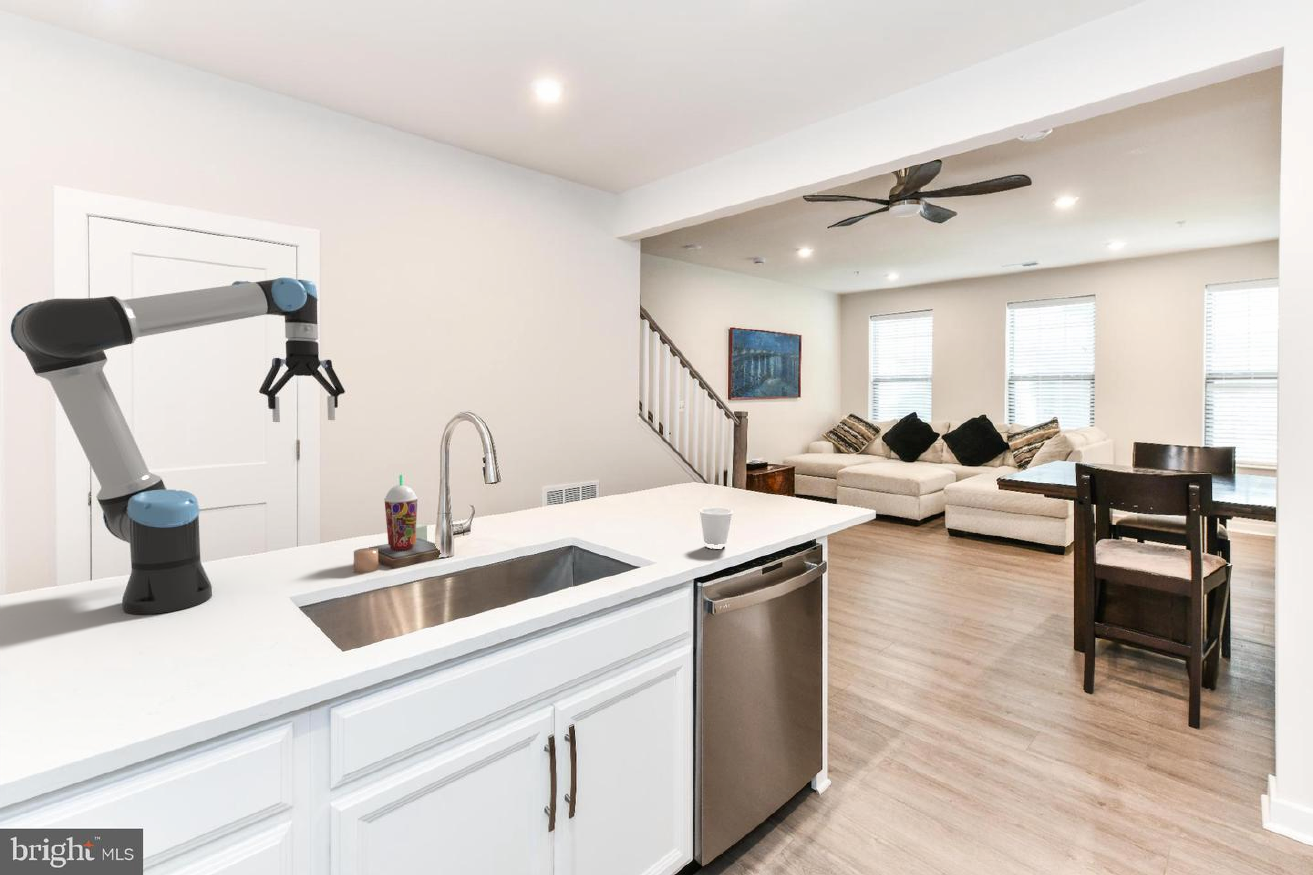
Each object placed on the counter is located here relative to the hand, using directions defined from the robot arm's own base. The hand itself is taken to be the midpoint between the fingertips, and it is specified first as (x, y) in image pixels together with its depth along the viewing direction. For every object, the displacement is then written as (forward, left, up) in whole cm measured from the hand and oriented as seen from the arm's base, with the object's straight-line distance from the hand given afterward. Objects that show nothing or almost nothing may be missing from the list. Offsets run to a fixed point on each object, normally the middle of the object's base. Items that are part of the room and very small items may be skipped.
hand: (304, 421), depth 168 cm
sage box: (+27, -6, -37) cm, 46 cm away
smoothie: (+17, -19, -34) cm, 43 cm away
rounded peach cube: (+5, -23, -37) cm, 44 cm away
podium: (+18, -19, -37) cm, 45 cm away
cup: (+85, -74, -37) cm, 119 cm away
